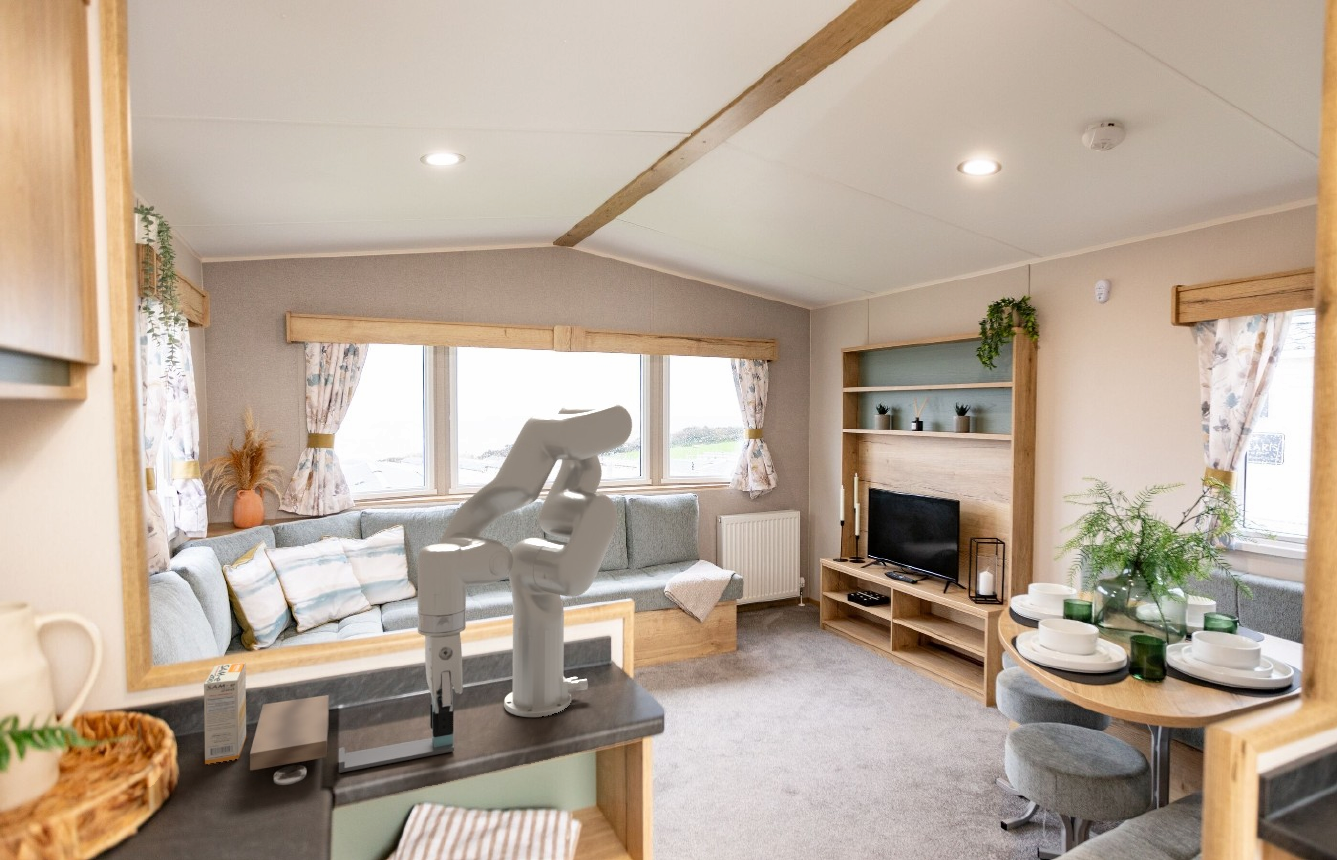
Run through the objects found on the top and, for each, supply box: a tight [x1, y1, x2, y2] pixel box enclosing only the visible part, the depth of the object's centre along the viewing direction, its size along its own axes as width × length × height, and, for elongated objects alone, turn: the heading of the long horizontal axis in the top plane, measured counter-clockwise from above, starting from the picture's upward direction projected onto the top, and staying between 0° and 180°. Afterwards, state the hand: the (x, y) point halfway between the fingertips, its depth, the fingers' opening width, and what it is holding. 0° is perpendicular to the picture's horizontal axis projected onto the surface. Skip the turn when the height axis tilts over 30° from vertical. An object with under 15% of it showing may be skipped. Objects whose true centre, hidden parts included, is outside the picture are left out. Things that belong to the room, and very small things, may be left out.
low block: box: [249, 694, 330, 771], centre depth 113 cm, size 10×18×6 cm, turn 25°
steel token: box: [273, 764, 307, 786], centre depth 107 cm, size 4×4×1 cm
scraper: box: [338, 691, 455, 774], centre depth 113 cm, size 17×5×10 cm, turn 115°
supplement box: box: [203, 662, 247, 765], centre depth 114 cm, size 8×5×13 cm, turn 23°
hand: (441, 730), depth 116 cm, fingers closed on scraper
